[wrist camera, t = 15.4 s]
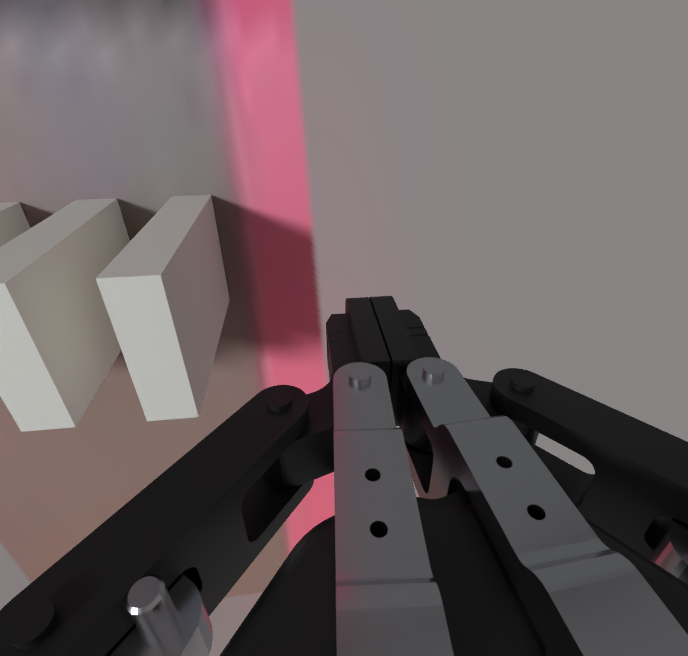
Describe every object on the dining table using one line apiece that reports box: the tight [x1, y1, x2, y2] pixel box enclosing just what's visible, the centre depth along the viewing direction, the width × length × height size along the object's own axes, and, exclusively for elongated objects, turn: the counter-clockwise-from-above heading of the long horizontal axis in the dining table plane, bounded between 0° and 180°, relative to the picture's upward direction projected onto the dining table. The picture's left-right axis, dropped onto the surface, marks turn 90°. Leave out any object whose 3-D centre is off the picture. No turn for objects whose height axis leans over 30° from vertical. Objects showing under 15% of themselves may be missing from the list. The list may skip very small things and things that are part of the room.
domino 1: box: [0, 198, 130, 432], centre depth 15 cm, size 5×2×8 cm, turn 0°
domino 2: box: [96, 195, 230, 421], centre depth 15 cm, size 5×2×8 cm, turn 0°
